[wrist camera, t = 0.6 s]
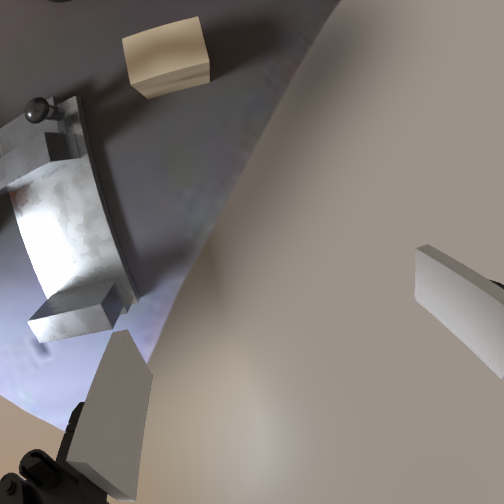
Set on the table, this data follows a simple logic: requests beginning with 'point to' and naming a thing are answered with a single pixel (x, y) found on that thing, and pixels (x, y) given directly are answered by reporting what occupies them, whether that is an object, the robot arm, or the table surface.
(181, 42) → the block
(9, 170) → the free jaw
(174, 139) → the table surface
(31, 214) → the vise bed
